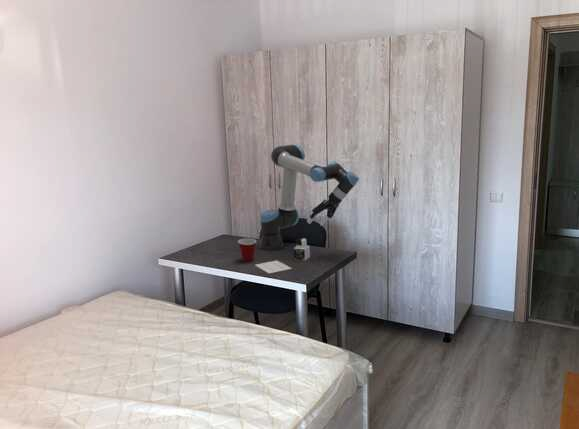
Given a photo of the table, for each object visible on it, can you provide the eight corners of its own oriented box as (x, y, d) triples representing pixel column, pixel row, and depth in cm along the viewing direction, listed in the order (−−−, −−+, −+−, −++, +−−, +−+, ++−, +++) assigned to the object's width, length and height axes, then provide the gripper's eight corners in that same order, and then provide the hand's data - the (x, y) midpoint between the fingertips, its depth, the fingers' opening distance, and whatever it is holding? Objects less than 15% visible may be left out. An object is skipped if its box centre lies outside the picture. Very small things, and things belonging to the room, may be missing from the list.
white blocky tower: (293, 259, 275) (292, 239, 273) (299, 256, 281) (298, 236, 279) (304, 261, 272) (304, 240, 270) (310, 257, 278) (309, 237, 276)
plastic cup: (248, 264, 271) (247, 244, 268) (235, 261, 278) (234, 241, 275) (261, 259, 279) (260, 239, 276) (248, 256, 286) (247, 237, 283)
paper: (254, 265, 268) (254, 264, 268) (276, 260, 275) (276, 260, 275) (268, 273, 253) (268, 273, 253) (291, 268, 259) (291, 268, 259)
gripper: (330, 196, 256) (306, 225, 262) (351, 202, 276) (329, 229, 282) (322, 188, 259) (298, 216, 266) (343, 194, 280) (321, 221, 286)
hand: (314, 223), depth 274 cm, fingers open, 13 cm apart
